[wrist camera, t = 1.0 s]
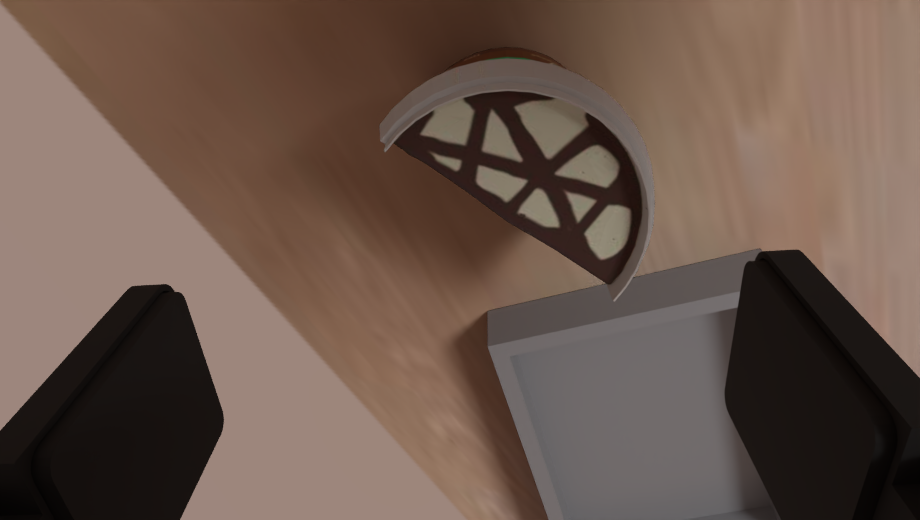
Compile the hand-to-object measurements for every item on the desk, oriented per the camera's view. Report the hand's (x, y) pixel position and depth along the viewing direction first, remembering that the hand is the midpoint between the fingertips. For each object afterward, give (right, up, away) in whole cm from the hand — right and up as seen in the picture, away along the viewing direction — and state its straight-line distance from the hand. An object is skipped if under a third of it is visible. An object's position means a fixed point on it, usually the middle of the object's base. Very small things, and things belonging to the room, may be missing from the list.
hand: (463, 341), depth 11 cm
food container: (+4, +10, +22) cm, 24 cm away
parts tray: (+12, -9, +32) cm, 36 cm away
